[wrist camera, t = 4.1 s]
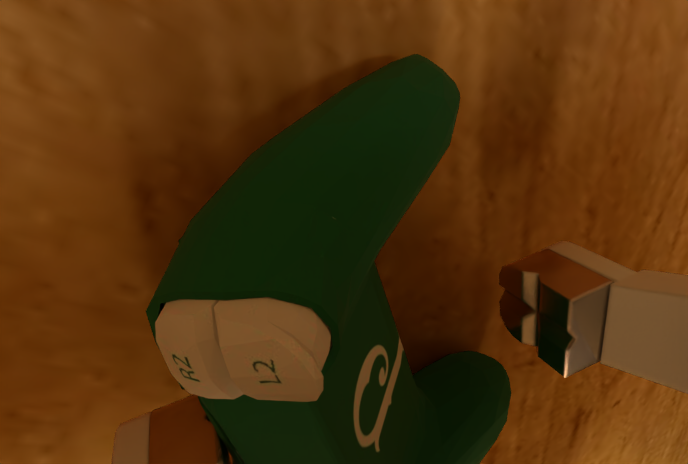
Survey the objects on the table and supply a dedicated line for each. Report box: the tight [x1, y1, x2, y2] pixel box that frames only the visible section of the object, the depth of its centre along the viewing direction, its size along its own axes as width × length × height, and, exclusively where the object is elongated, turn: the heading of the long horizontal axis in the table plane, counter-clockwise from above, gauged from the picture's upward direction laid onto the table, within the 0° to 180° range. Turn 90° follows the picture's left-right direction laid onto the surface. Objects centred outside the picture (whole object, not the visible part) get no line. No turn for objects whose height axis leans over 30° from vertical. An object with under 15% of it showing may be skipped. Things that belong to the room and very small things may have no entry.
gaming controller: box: [146, 54, 511, 464], centre depth 8 cm, size 9×4×6 cm
